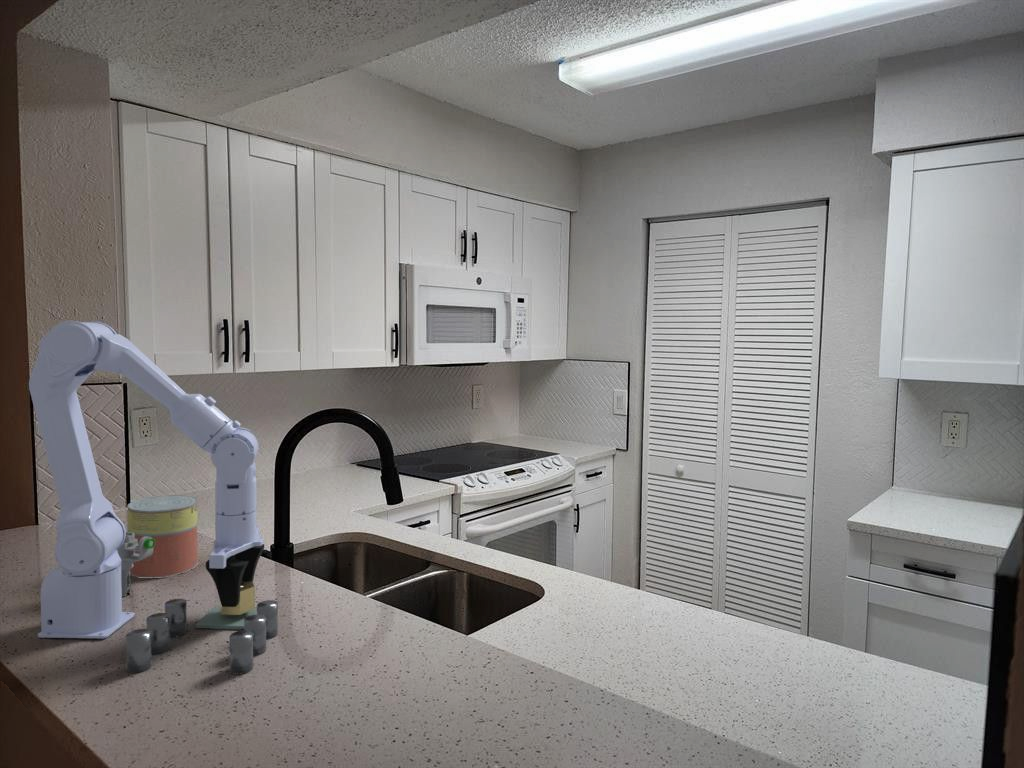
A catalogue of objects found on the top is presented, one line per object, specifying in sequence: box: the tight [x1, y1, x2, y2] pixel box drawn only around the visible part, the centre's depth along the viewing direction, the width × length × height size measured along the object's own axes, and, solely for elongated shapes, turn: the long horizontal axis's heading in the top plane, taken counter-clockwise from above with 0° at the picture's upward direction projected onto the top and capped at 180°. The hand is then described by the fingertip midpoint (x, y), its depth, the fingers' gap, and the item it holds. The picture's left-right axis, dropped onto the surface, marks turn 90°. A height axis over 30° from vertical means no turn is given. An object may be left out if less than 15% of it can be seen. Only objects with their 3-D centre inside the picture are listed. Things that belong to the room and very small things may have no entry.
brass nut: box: [218, 581, 256, 615], centre depth 102 cm, size 5×5×4 cm
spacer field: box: [125, 598, 279, 675], centre depth 92 cm, size 16×13×4 cm
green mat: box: [194, 605, 257, 630], centre depth 102 cm, size 9×7×1 cm
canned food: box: [126, 494, 199, 578], centre depth 122 cm, size 11×11×12 cm
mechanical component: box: [117, 531, 155, 597], centre depth 110 cm, size 3×10×10 cm, turn 78°
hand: (236, 599), depth 102 cm, fingers closed on brass nut, 5 cm apart
